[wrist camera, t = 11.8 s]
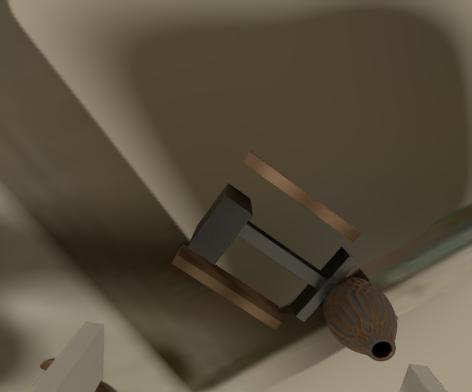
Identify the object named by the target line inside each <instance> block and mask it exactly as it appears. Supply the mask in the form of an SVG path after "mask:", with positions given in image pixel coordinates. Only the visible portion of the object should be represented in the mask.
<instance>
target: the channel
mask: <svg viewBox="0 0 472 392" xmlns="http://www.w3.org/2000/svg"><path fill="white" fill-rule="evenodd" d="M244 163H245V164H246V165H248V166H249V167H250V168H252V169H253V170H255V171H256V172H257V173H259V174H260V175H261V176H263V177H264V178H266V179H267V180H268V181H270V182H271V183H273V184H274V185H275V186H277V187H278V188H279V189H281V190H282V191H283V192H285V193H286V194H288V195H289V196H290V197H292V198H293V199H294V200H296V201H297V202H299V203H300V204H301V205H303V206H304V207H305V208H307V209H308V210H310V211H311V212H312V213H314V214H315V215H316V216H318V217H319V218H321V219H322V220H323V221H325V222H326V223H327V224H329V225H330V226H332V227H333V228H334V229H336V230H337V231H338V232H340V233H341V234H343V235H344V236H345V237H347V238H348V239H350V240H351V241H352V242H354V241H355V240H356V239H357V238H358V236H359V235H360V234H361V233H360V232H359V231H357V230H356V229H355V228H354V227H353V226H351V225H350V224H349V223H347V222H346V221H345V220H343V219H342V218H341V217H339V216H338V215H337V214H335V213H334V212H332V211H331V210H330V209H328V208H327V207H326V206H324V205H323V204H321V203H320V202H319V201H318V200H316V199H315V198H314V197H312V196H311V195H309V194H308V193H307V192H305V191H304V190H303V189H301V188H300V187H299V186H297V185H296V184H294V183H293V182H292V181H290V180H289V179H288V178H286V177H285V176H284V175H282V174H281V173H280V172H278V171H277V170H276V169H274V168H273V167H271V166H270V165H269V164H267V163H266V162H265V161H263V160H262V159H261V158H259V157H258V156H256V155H255V154H254V153H252V152H251V151H250V152H249V154H248V155H247V157H246V158H245V159H244ZM172 264H173V265H175V266H176V267H178V268H179V269H181V270H182V271H184V272H186V273H187V274H189V275H190V276H192V277H193V278H195V279H196V280H198V281H200V282H201V283H203V284H204V285H206V286H207V287H209V288H211V289H212V290H214V291H215V292H217V293H218V294H220V295H221V296H223V297H225V298H226V299H228V300H229V301H231V302H232V303H234V304H235V305H237V306H239V307H240V308H242V309H243V310H245V311H246V312H248V313H249V314H251V315H253V316H254V317H256V318H257V319H259V320H260V321H262V322H263V323H265V324H267V325H268V326H270V327H271V328H273V329H274V330H276V329H277V328H278V326H279V325H280V324H281V323H282V321H281V317H280V312H279V308H278V305H276V304H275V303H273V302H272V301H270V300H268V299H267V298H265V297H264V296H262V295H261V294H259V293H258V292H256V291H255V290H253V289H252V288H250V287H249V286H247V285H246V284H244V283H242V282H241V281H240V280H238V279H237V278H235V277H233V276H232V275H230V274H229V273H227V272H226V271H224V270H222V269H221V268H219V267H218V266H217V265H214V264H212V263H211V262H209V261H208V260H206V259H205V258H203V257H202V256H200V255H199V254H197V253H196V252H194V251H193V250H191V249H190V248H188V246H186V245H185V244H183V245H182V246H181V248H180V249H179V250H178V252H177V254H176V256H175V258H174V259H173V261H172Z"/></svg>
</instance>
